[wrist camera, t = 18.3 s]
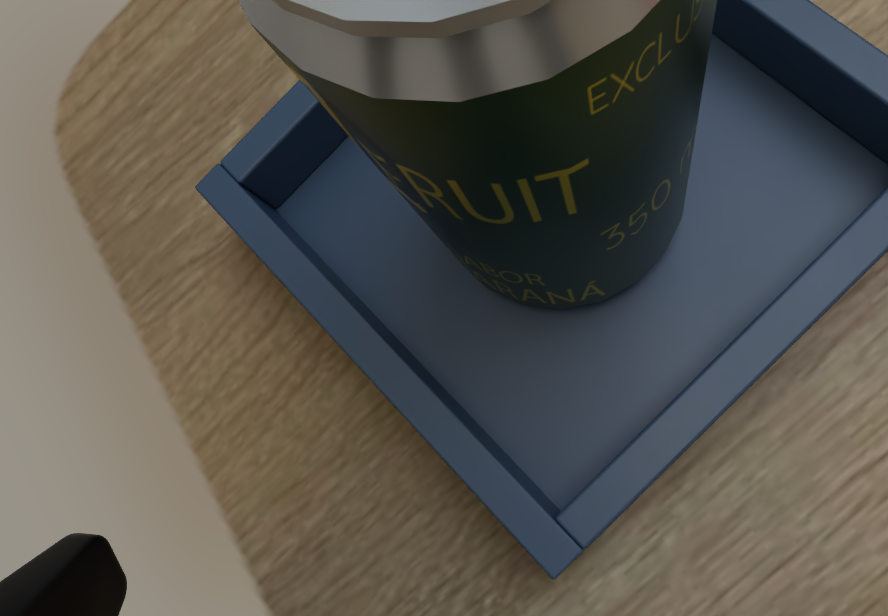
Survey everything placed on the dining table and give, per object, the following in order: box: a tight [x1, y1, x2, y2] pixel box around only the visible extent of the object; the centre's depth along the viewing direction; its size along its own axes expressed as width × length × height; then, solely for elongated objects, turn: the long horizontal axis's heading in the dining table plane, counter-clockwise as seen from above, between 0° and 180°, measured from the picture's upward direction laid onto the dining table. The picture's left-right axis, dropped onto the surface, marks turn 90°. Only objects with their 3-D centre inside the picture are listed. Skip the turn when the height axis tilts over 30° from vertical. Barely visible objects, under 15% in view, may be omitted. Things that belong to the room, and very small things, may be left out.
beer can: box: [238, 0, 717, 309], centre depth 13 cm, size 5×5×12 cm
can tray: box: [195, 0, 888, 579], centre depth 18 cm, size 12×12×2 cm
